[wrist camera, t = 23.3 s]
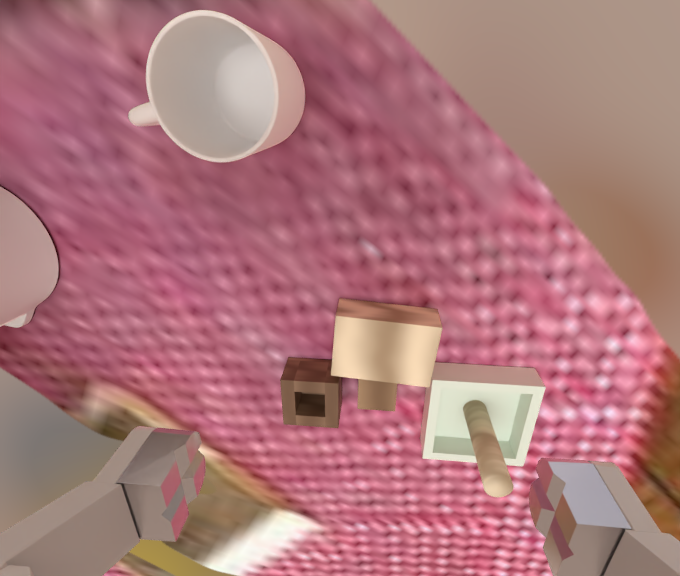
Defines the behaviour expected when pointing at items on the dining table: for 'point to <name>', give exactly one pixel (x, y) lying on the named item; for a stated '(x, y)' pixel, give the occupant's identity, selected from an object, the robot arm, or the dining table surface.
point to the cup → (220, 87)
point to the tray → (500, 400)
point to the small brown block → (376, 395)
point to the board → (385, 342)
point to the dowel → (487, 450)
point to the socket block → (310, 393)
